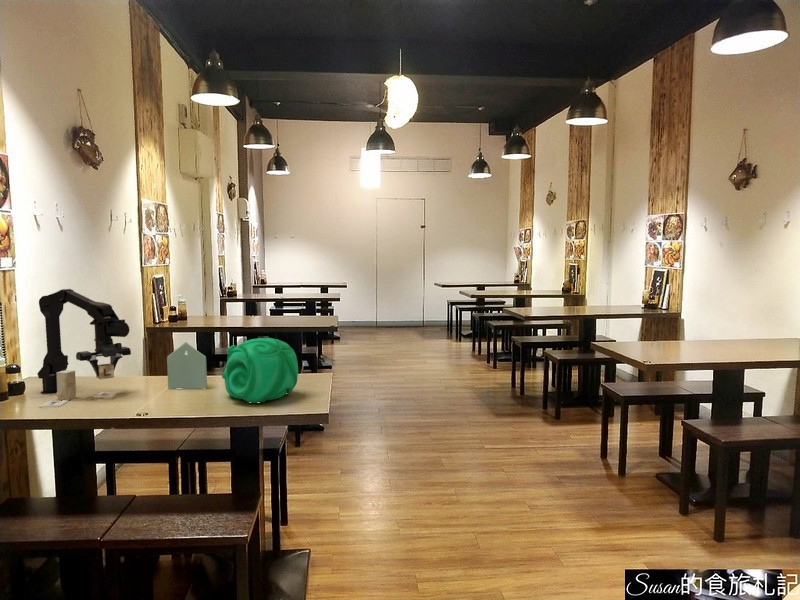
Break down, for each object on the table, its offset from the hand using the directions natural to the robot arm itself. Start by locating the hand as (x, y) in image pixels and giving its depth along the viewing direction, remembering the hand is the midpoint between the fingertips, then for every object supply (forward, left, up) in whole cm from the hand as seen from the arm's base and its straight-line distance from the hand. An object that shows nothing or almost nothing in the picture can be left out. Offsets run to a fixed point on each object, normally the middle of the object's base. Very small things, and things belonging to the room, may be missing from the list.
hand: (105, 374), depth 226 cm
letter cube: (0, 0, -1) cm, 1 cm away
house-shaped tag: (+30, +11, -9) cm, 33 cm away
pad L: (0, 0, -8) cm, 8 cm away
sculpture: (+61, -10, -9) cm, 62 cm away
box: (-13, -4, -9) cm, 16 cm away
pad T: (-14, -12, -8) cm, 20 cm away
